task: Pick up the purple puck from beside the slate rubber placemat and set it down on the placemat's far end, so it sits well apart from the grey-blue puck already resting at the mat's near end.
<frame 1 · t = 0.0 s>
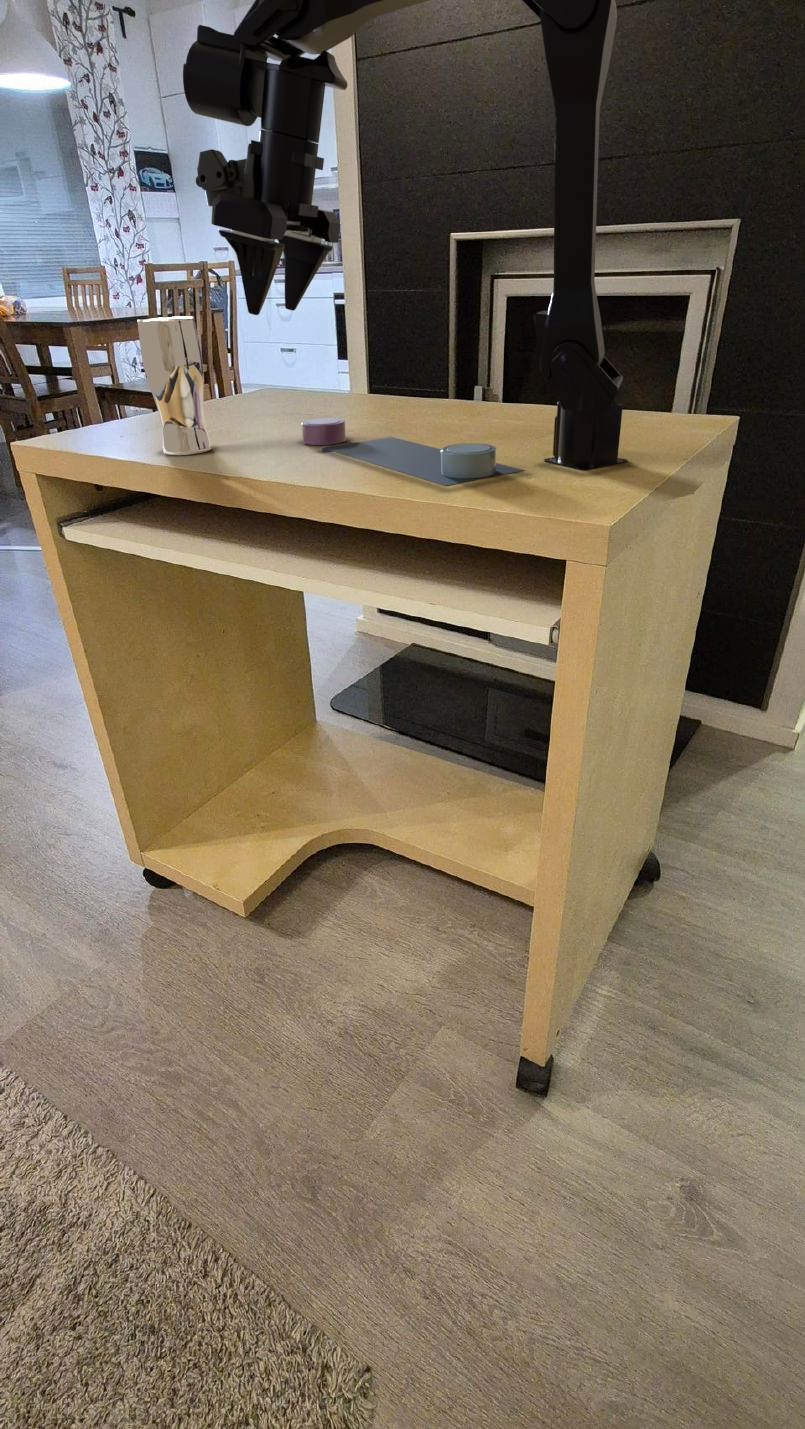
hand: (272, 312, 84), 15 cm above the table, tool pointing down, fingers open, 9 cm apart
grey-blue puck: (468, 472, 79), resting on placemat
beer glass: (188, 452, 98), on the table
placemat: (414, 462, 87), on the table
purple puck: (324, 441, 100), on the table
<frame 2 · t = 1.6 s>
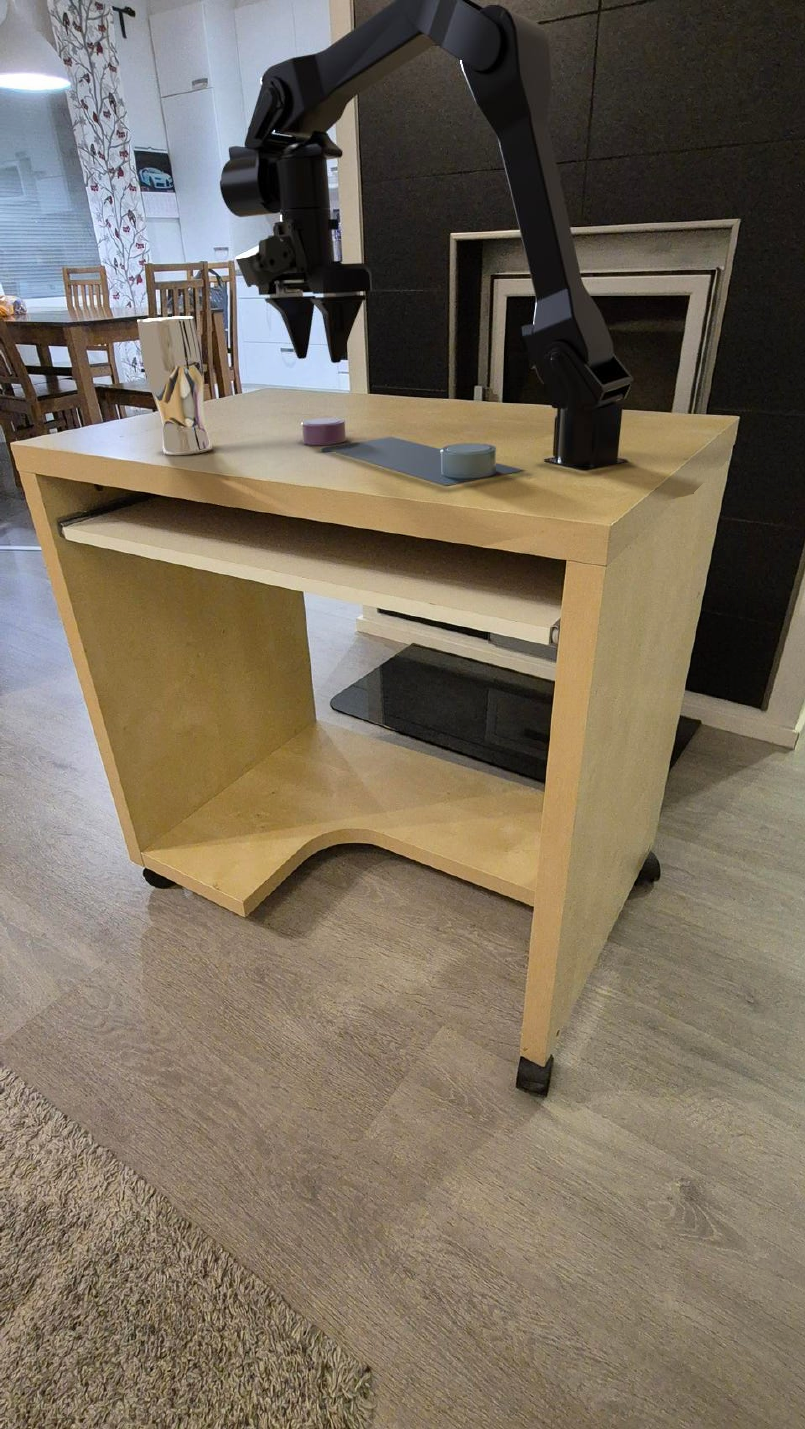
hand: (318, 360, 95), 10 cm above the table, tool pointing down, fingers open, 9 cm apart
nothing on the table moved.
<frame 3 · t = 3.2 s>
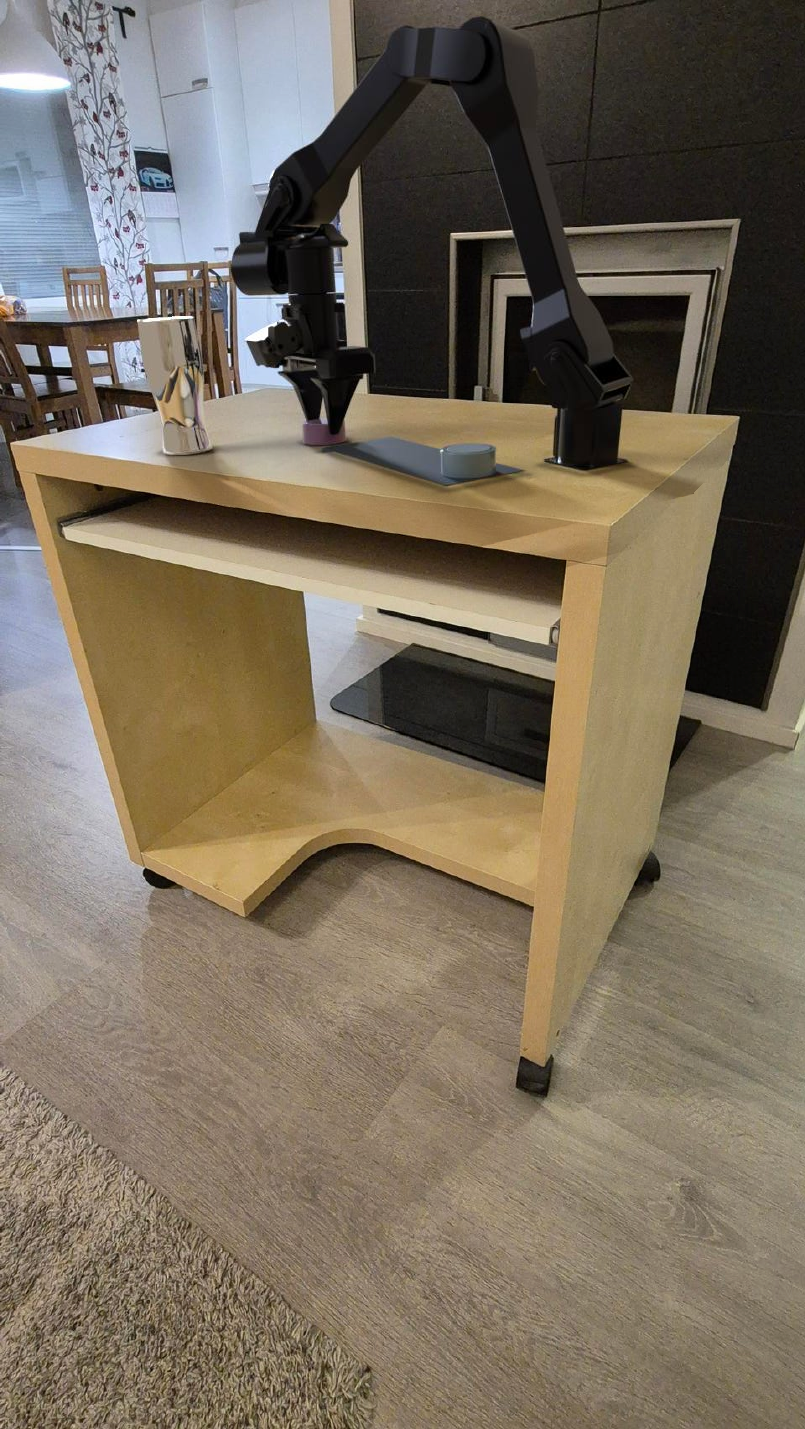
hand: (323, 431, 100), 1 cm above the table, tool pointing down, fingers closed on purple puck, 5 cm apart
purple puck: (324, 441, 100), on the table, touching gripper
everything else where it was.
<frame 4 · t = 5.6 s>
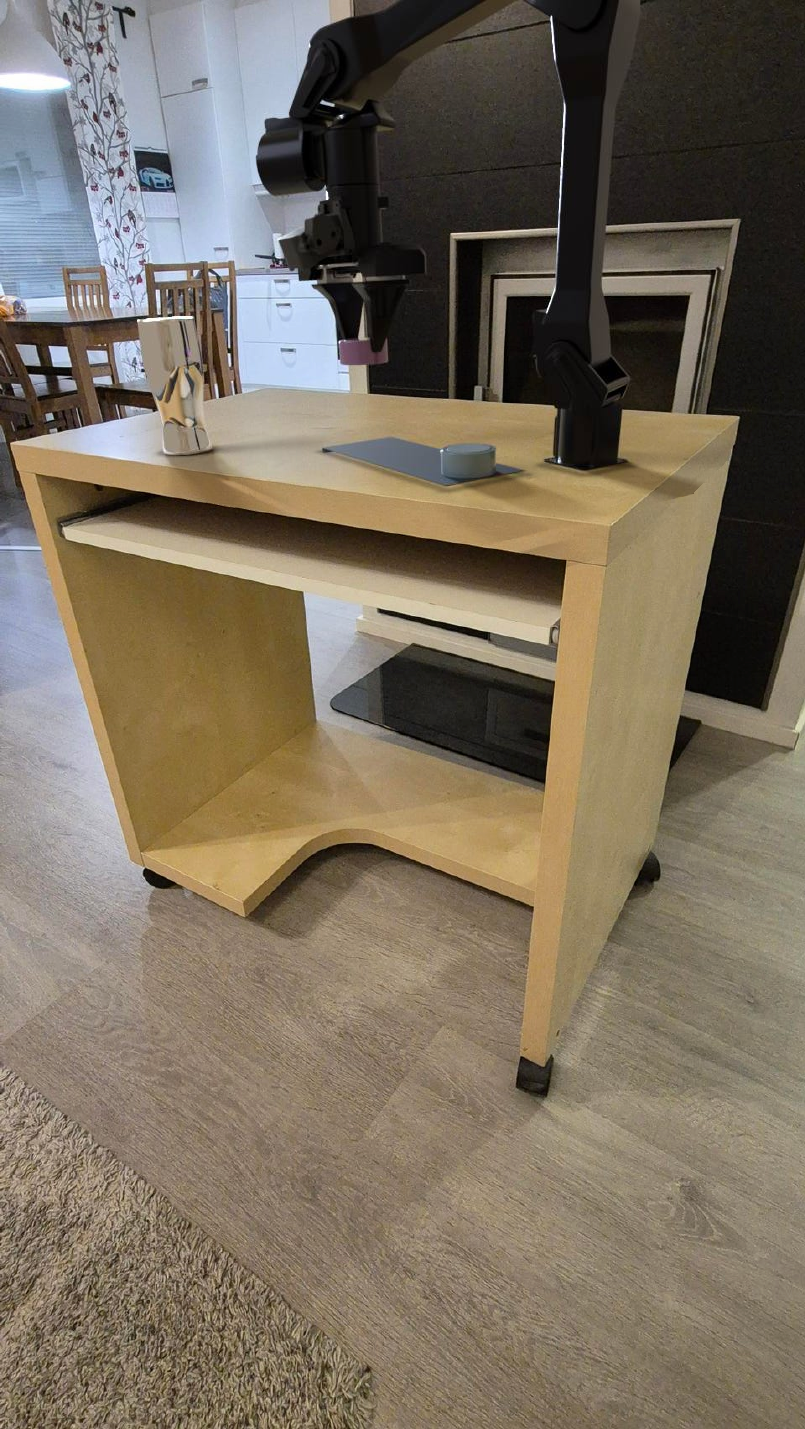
hand: (363, 351, 89), 11 cm above the table, tool pointing down, fingers closed on purple puck, 5 cm apart
purple puck: (364, 362, 89), point 10 cm above the table, touching gripper
everything else where it was.
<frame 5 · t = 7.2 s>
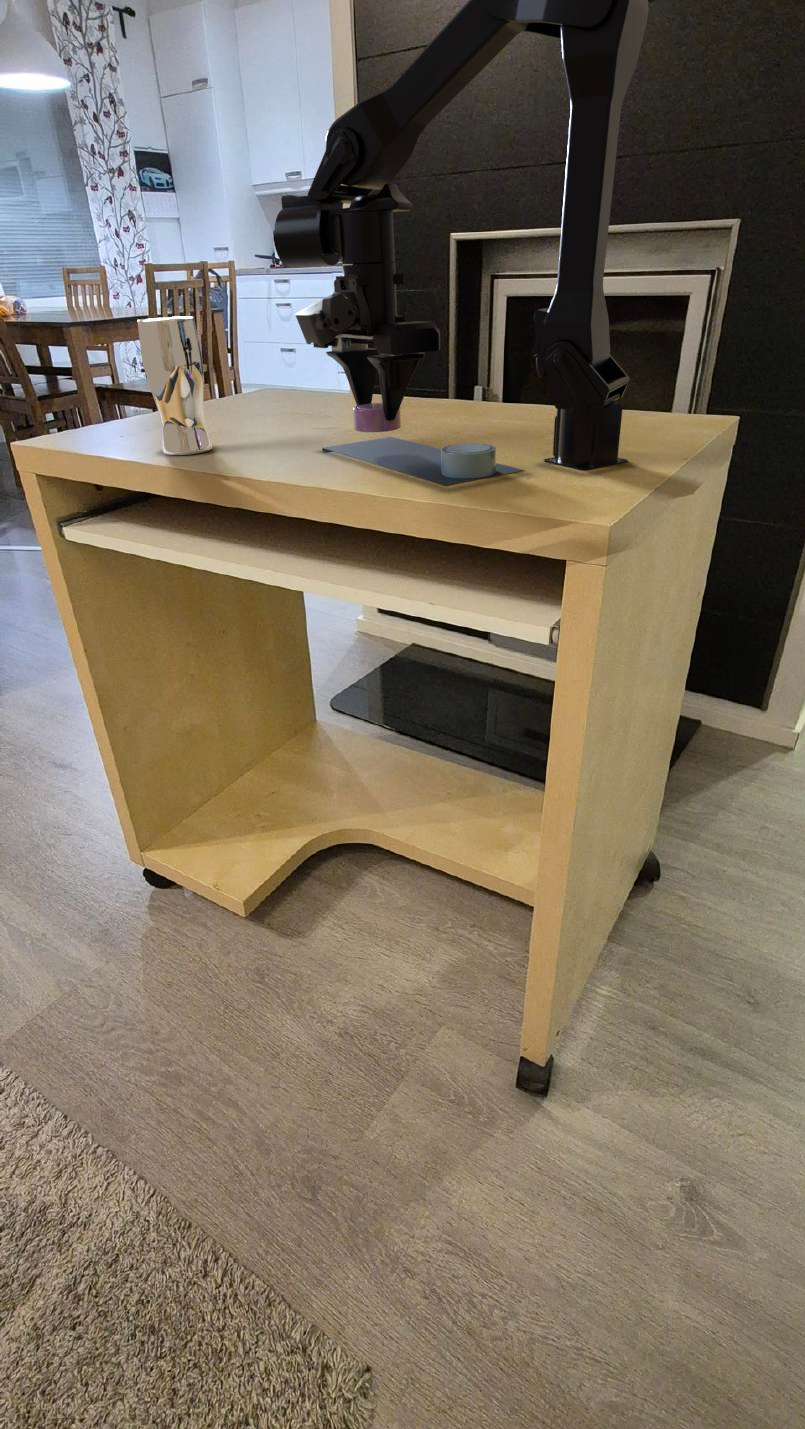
hand: (376, 417, 91), 4 cm above the table, tool pointing down, fingers closed on purple puck, 5 cm apart
purple puck: (377, 428, 91), point 3 cm above the table, touching gripper
everything else where it was.
when the fingers open (2 cm above the table, at t = 8.4 s): purple puck stays where it is, resting on placemat.
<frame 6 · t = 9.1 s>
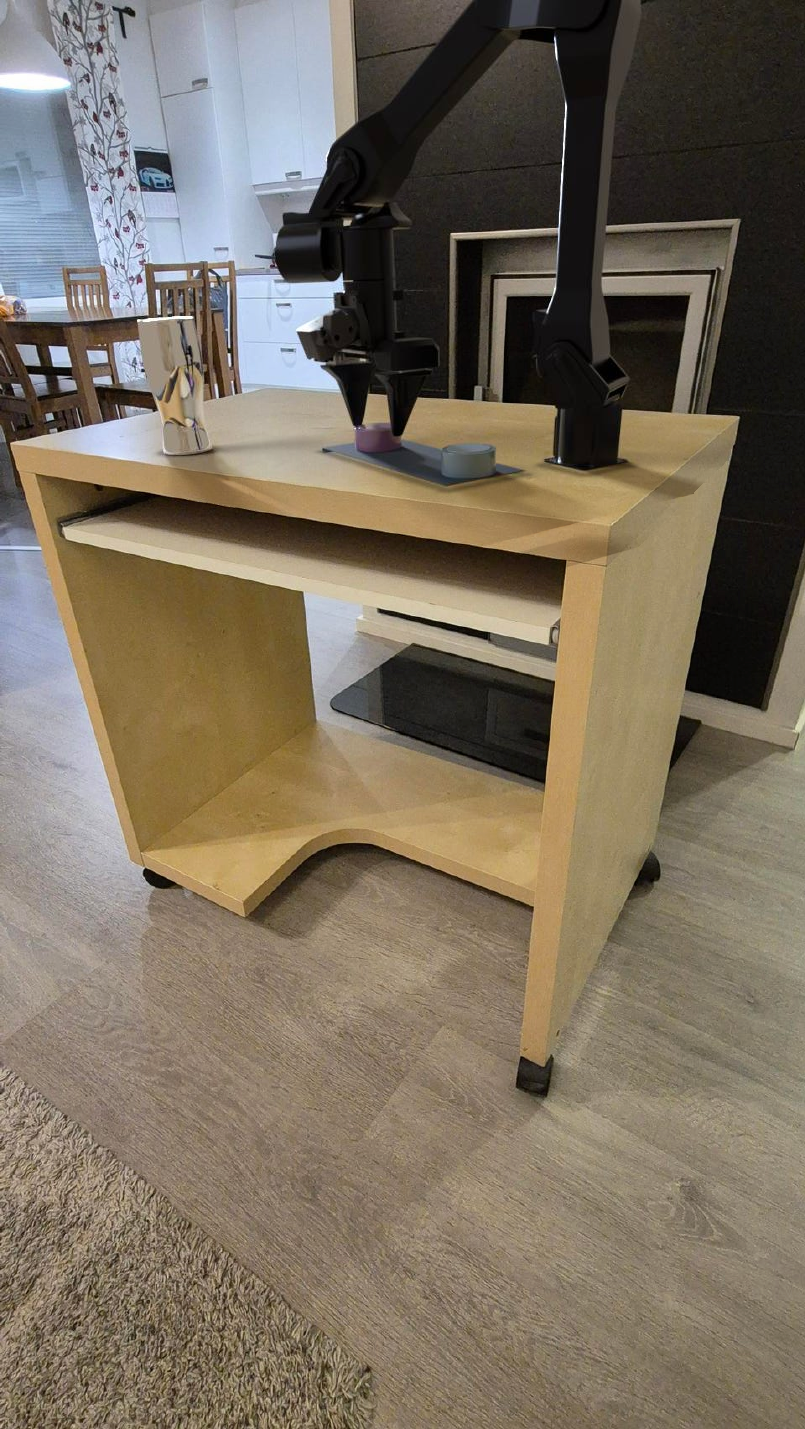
hand: (376, 431, 92), 2 cm above the table, tool pointing down, fingers open, 9 cm apart
purple puck: (378, 447, 92), resting on placemat
everything else where it was.
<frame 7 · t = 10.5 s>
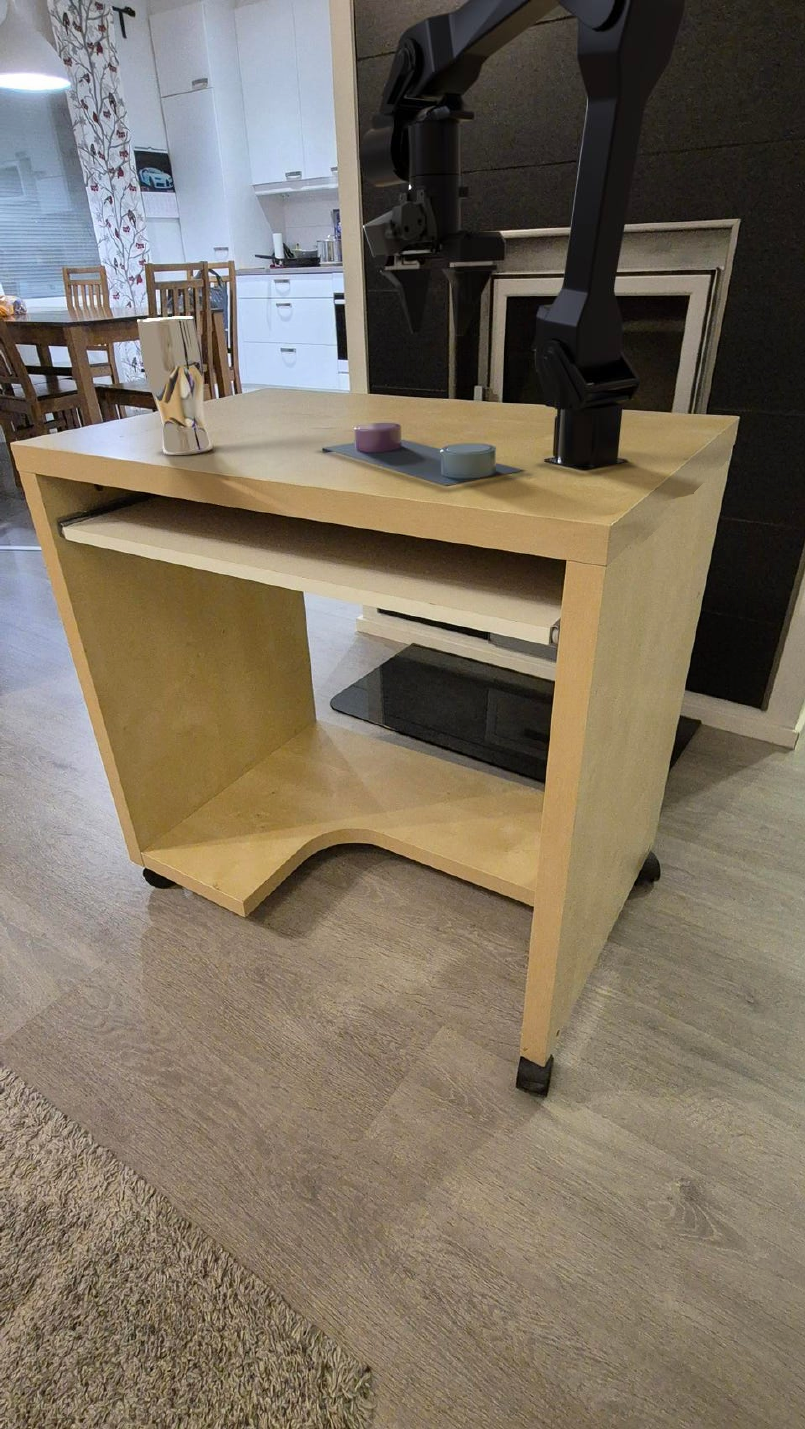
hand: (436, 334, 93), 12 cm above the table, tool pointing down, fingers open, 9 cm apart
nothing on the table moved.
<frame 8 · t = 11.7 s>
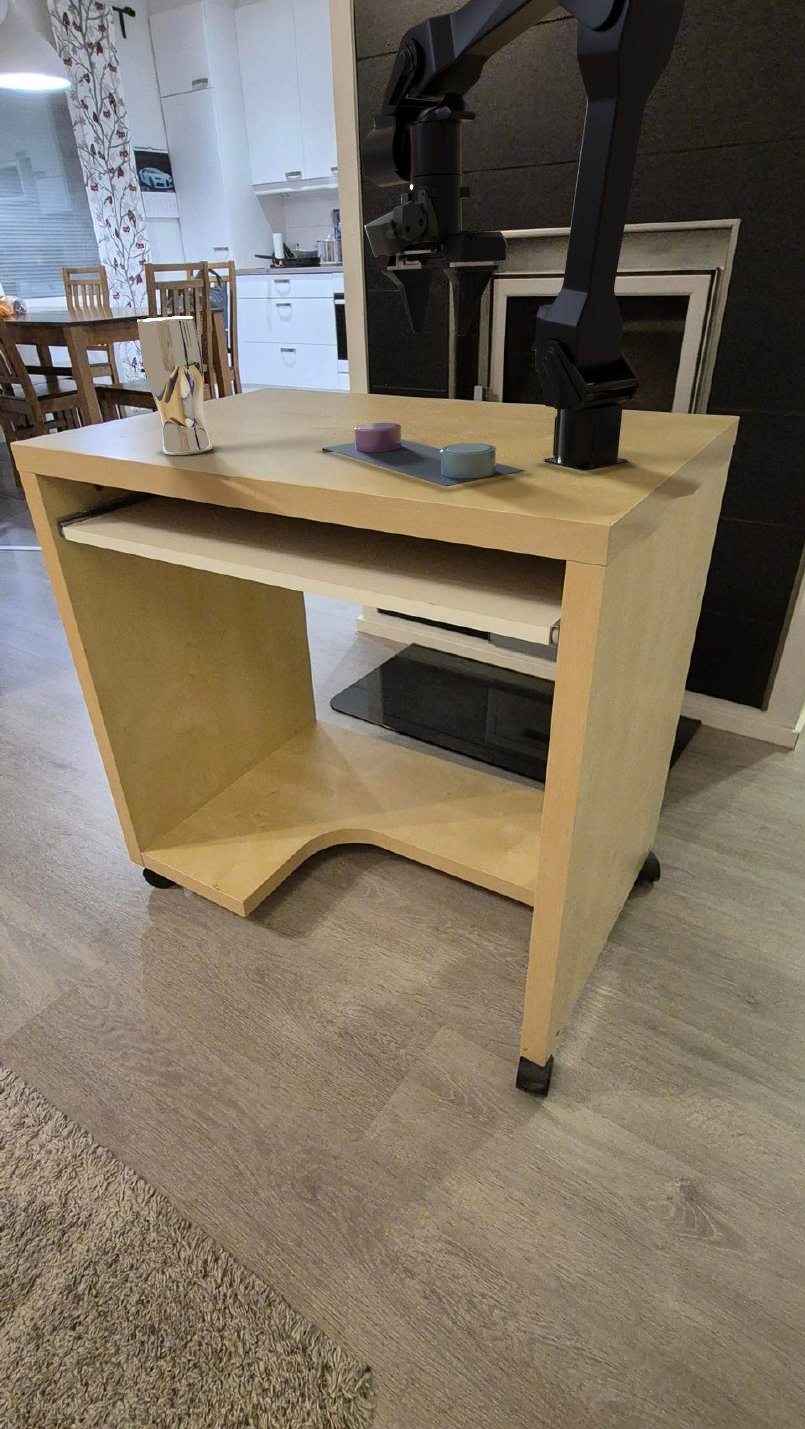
hand: (438, 334, 93), 12 cm above the table, tool pointing down, fingers open, 9 cm apart
nothing on the table moved.
at the end: purple puck inside the target area on the placemat (0.2 cm from its centre), point 0.5 cm above the placemat's base; purple puck tilted 0°; grey-blue puck moved 0.0 cm from its start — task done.
